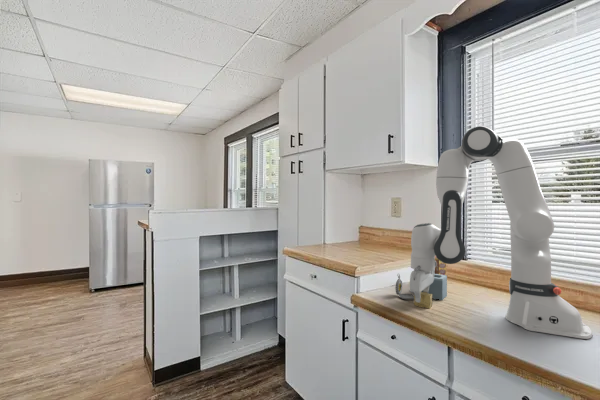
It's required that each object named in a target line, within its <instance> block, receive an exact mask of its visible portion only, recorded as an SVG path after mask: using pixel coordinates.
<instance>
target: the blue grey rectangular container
mask: <svg viewBox="0 0 600 400" xmlns="http://www.w3.org/2000/svg"><path fill="white" fill-rule="evenodd" d="M421 292H423V291H421ZM428 293H429V294H432V298H434V299H433V300H436V299H439V300H438V301H441V300H443V299H444V298H445V297H446V298H447V296H448V276H447V274H446V275H440V274H434V281H433V283H432V284H431V285H429V291H428ZM446 298H445V299H446ZM445 299H444V300H445ZM444 300H443V301H444Z"/></svg>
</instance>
